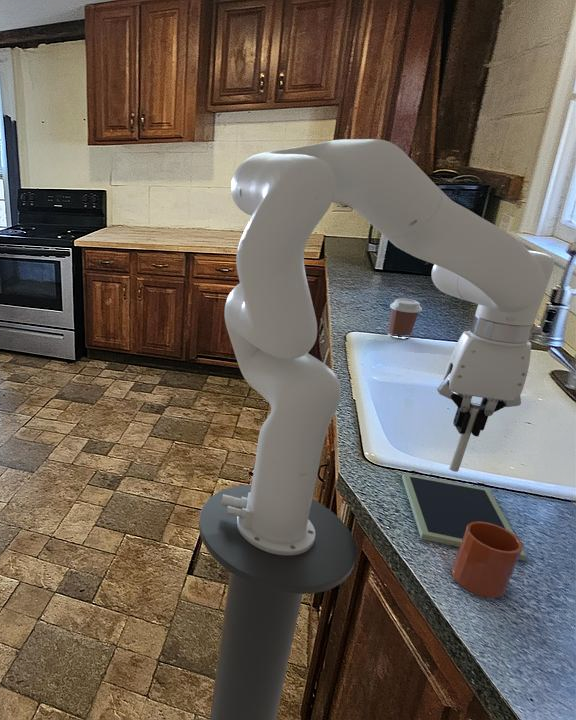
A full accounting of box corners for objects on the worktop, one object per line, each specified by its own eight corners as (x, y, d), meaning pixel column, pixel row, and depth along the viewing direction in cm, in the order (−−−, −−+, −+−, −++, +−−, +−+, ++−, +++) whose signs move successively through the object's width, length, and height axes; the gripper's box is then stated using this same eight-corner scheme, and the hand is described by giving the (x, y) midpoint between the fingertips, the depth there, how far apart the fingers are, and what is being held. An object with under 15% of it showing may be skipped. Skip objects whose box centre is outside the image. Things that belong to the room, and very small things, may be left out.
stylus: (450, 470, 93) (471, 405, 88) (448, 466, 94) (469, 401, 89) (459, 472, 92) (481, 406, 87) (457, 468, 94) (479, 402, 89)
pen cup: (458, 591, 75) (474, 546, 72) (446, 559, 80) (461, 517, 77) (511, 603, 73) (530, 558, 70) (496, 570, 78) (512, 527, 75)
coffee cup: (392, 340, 170) (401, 305, 166) (378, 331, 179) (385, 297, 174) (420, 341, 171) (429, 305, 166) (404, 331, 179) (413, 297, 174)
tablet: (420, 539, 84) (422, 533, 84) (401, 477, 100) (402, 472, 100) (524, 561, 80) (527, 555, 80) (487, 493, 96) (489, 488, 95)
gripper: (549, 329, 84) (512, 429, 91) (438, 317, 89) (411, 413, 96) (570, 344, 78) (528, 451, 85) (449, 330, 82) (419, 433, 89)
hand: (466, 430), depth 90 cm, fingers closed on stylus, 1 cm apart
